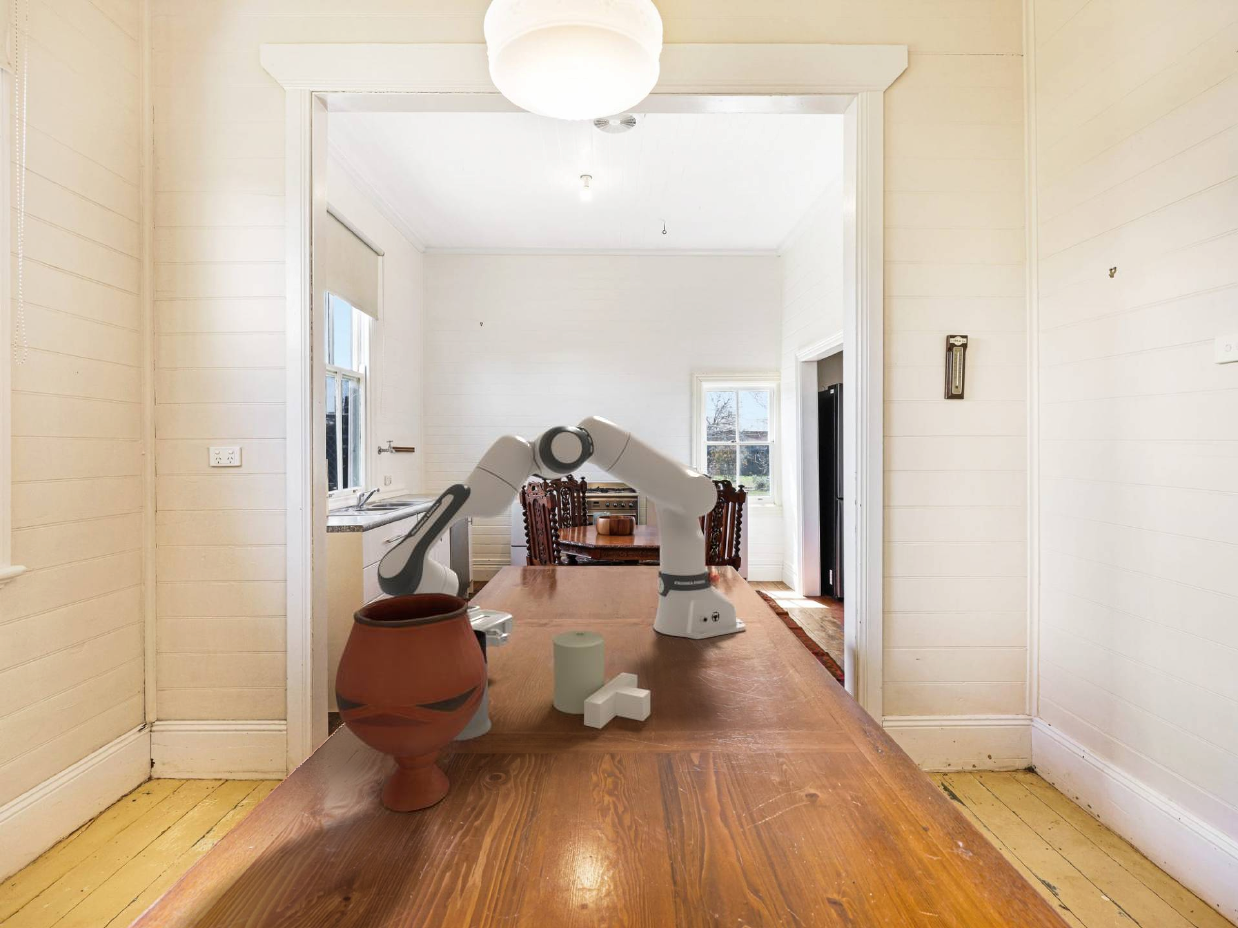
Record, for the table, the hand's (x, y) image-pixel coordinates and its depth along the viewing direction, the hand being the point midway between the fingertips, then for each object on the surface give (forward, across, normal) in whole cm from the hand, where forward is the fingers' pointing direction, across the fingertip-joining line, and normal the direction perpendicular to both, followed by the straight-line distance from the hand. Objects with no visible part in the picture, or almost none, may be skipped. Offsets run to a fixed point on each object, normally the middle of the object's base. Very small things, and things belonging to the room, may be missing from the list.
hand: (504, 640), depth 119 cm
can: (+16, 0, +9) cm, 19 cm away
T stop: (+25, -1, +9) cm, 27 cm away
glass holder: (+5, -20, +9) cm, 22 cm away
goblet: (+11, -34, +9) cm, 37 cm away
